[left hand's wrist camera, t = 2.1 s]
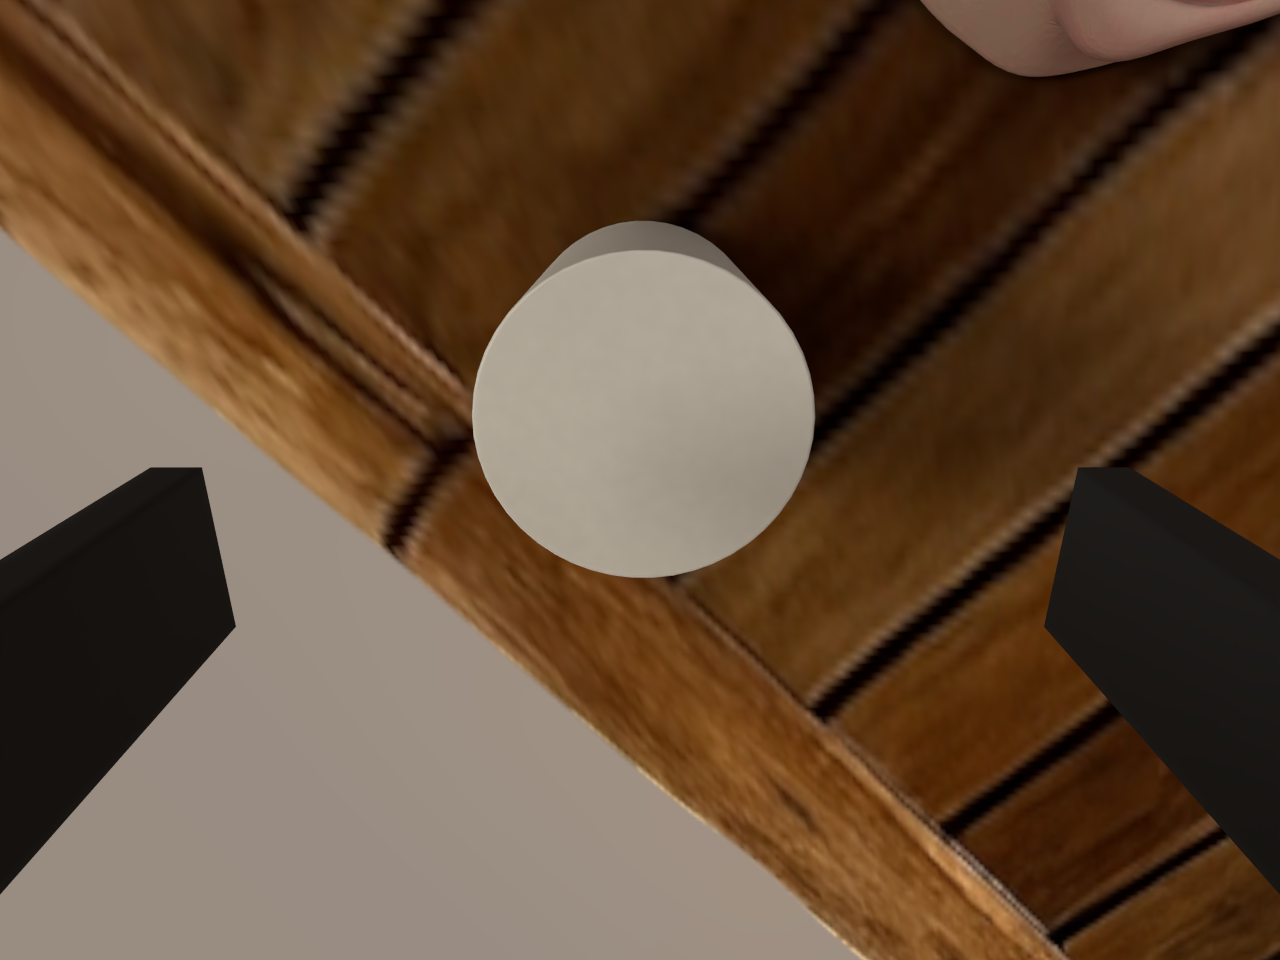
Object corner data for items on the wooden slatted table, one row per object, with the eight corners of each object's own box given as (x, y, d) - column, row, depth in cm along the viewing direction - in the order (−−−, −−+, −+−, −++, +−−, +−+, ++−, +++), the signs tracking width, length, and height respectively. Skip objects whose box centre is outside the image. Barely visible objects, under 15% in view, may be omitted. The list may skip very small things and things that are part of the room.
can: (489, 393, 26) (421, 497, 18) (586, 175, 24) (557, 181, 16) (691, 488, 28) (712, 625, 19) (803, 290, 25) (882, 351, 17)
